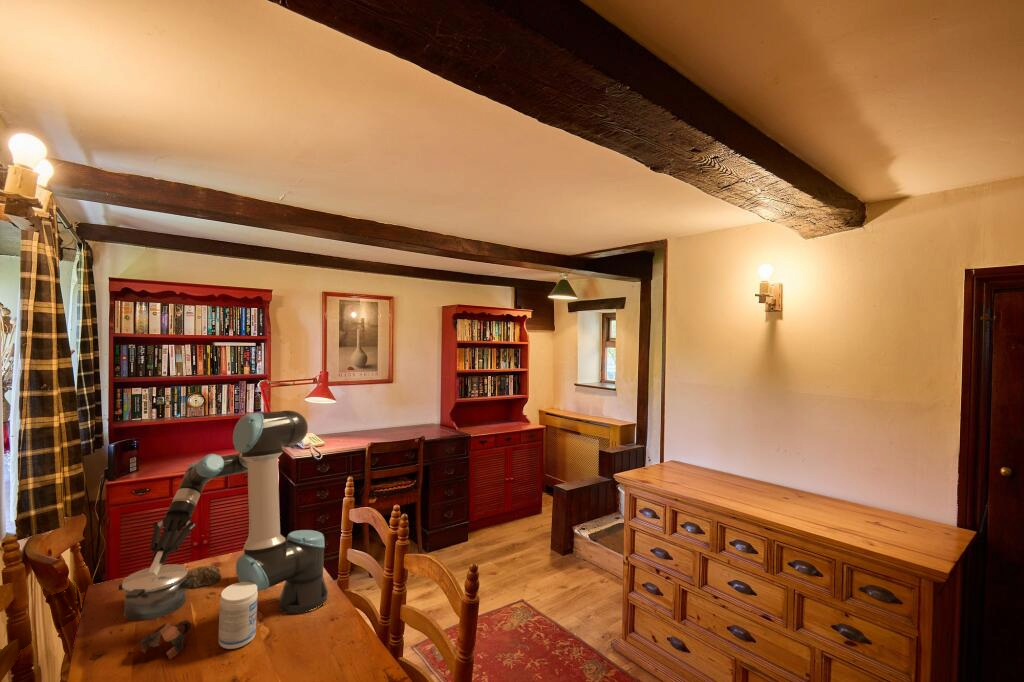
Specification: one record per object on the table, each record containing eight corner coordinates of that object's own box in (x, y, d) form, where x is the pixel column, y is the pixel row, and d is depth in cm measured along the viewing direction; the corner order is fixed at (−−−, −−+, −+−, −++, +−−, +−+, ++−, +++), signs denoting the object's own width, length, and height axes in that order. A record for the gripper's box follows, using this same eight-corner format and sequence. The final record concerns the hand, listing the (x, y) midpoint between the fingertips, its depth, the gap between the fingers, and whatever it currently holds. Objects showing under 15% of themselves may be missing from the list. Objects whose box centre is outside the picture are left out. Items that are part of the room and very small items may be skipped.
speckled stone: (179, 579, 175) (179, 565, 175) (218, 569, 183) (218, 556, 183) (185, 593, 165) (185, 578, 166) (225, 582, 174) (226, 568, 174)
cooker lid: (162, 597, 144) (162, 593, 144) (100, 599, 142) (100, 595, 142) (197, 567, 165) (197, 563, 165) (143, 568, 163) (144, 564, 163)
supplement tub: (256, 644, 138) (259, 595, 137) (218, 655, 133) (220, 604, 132) (254, 624, 146) (256, 578, 145) (217, 633, 141) (220, 585, 140)
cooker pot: (176, 619, 149) (177, 590, 149) (102, 622, 146) (104, 592, 147) (204, 591, 166) (205, 565, 166) (138, 593, 163) (140, 567, 164)
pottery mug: (160, 668, 127) (145, 641, 127) (144, 673, 131) (129, 647, 131) (203, 633, 138) (189, 608, 138) (187, 638, 142) (173, 614, 142)
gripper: (206, 509, 174) (178, 577, 157) (167, 509, 172) (135, 578, 155) (199, 499, 169) (170, 568, 152) (159, 499, 167) (125, 569, 150)
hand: (152, 573), depth 153 cm, fingers closed
